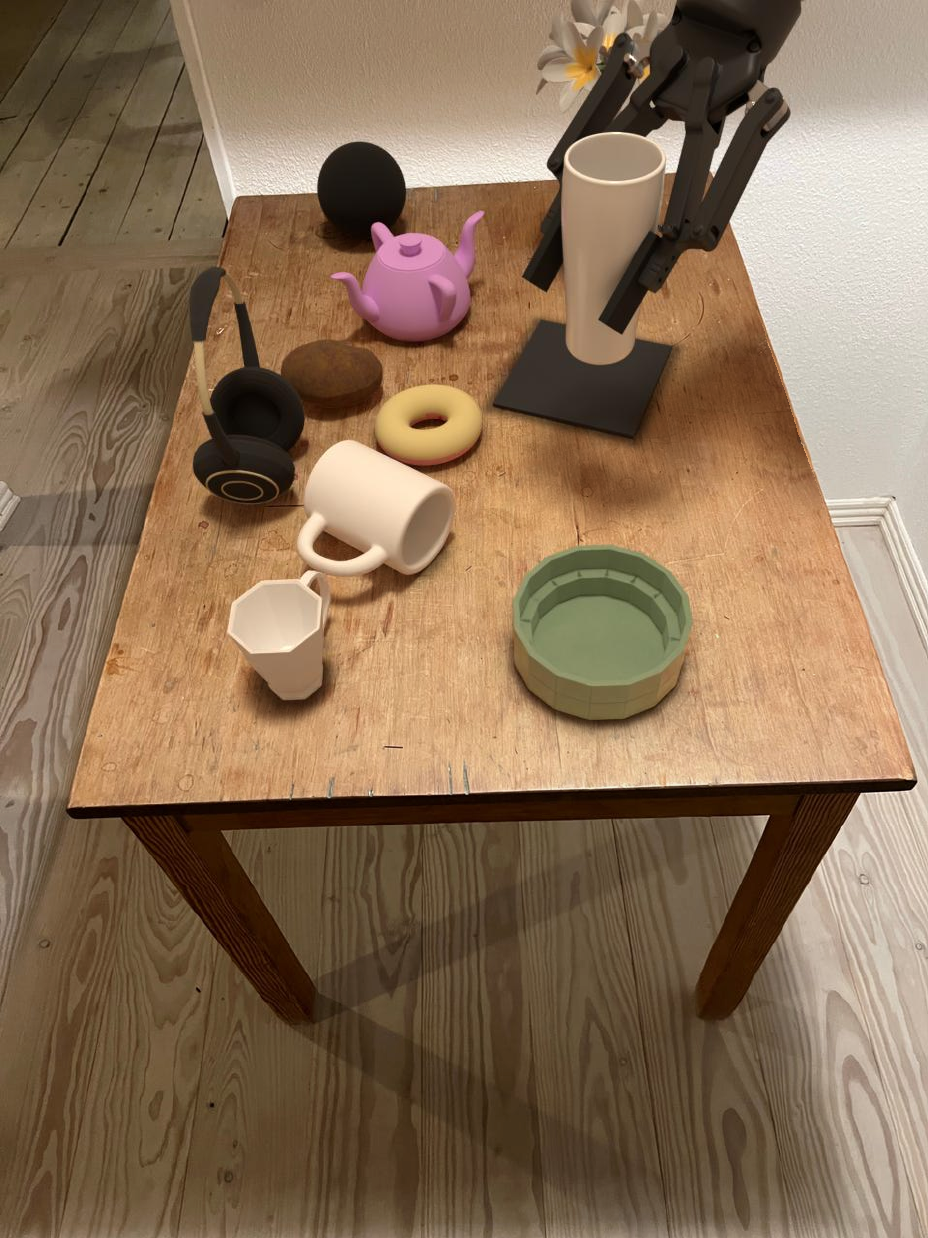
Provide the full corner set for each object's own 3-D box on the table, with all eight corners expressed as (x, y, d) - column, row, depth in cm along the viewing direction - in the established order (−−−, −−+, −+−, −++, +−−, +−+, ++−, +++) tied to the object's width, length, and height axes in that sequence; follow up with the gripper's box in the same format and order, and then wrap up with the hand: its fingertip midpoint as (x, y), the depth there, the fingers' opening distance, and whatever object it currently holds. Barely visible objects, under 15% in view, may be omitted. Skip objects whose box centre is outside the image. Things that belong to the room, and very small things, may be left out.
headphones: (200, 535, 83) (123, 345, 67) (229, 422, 91) (167, 230, 76) (297, 534, 82) (243, 342, 66) (316, 420, 91) (273, 227, 75)
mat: (672, 349, 95) (672, 345, 95) (633, 438, 87) (633, 435, 87) (540, 322, 99) (540, 319, 98) (492, 406, 91) (492, 403, 91)
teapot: (487, 284, 103) (484, 208, 96) (453, 364, 95) (447, 286, 88) (384, 272, 105) (374, 196, 98) (342, 348, 97) (328, 272, 90)
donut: (488, 473, 89) (464, 399, 93) (497, 440, 85) (471, 365, 89) (384, 484, 86) (364, 408, 90) (388, 451, 82) (367, 373, 87)
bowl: (700, 610, 75) (710, 570, 71) (656, 745, 68) (665, 708, 64) (545, 568, 78) (546, 527, 75) (489, 691, 71) (487, 654, 67)
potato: (385, 417, 91) (378, 364, 86) (284, 425, 91) (270, 372, 86) (384, 373, 95) (377, 320, 90) (287, 381, 95) (274, 328, 90)
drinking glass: (545, 365, 72) (550, 175, 60) (569, 313, 76) (578, 124, 64) (631, 382, 71) (654, 189, 59) (652, 328, 74) (677, 137, 62)
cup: (234, 700, 72) (206, 639, 66) (295, 603, 78) (274, 537, 71) (316, 727, 70) (295, 667, 64) (372, 626, 76) (358, 560, 69)
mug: (370, 488, 85) (358, 420, 79) (459, 533, 81) (454, 466, 75) (280, 573, 80) (259, 508, 73) (371, 626, 76) (358, 562, 69)
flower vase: (654, 205, 111) (683, -41, 91) (648, 298, 100) (680, 41, 80) (544, 201, 113) (549, -42, 93) (526, 292, 102) (528, 39, 82)
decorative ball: (321, 215, 113) (306, 131, 105) (403, 203, 114) (394, 119, 106) (329, 261, 107) (314, 175, 99) (415, 248, 108) (407, 162, 100)
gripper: (901, 50, 59) (698, 379, 66) (658, -28, 68) (502, 268, 75) (879, -20, 53) (657, 351, 60) (616, -95, 62) (449, 234, 69)
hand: (571, 304), depth 68 cm, fingers closed on drinking glass, 7 cm apart
